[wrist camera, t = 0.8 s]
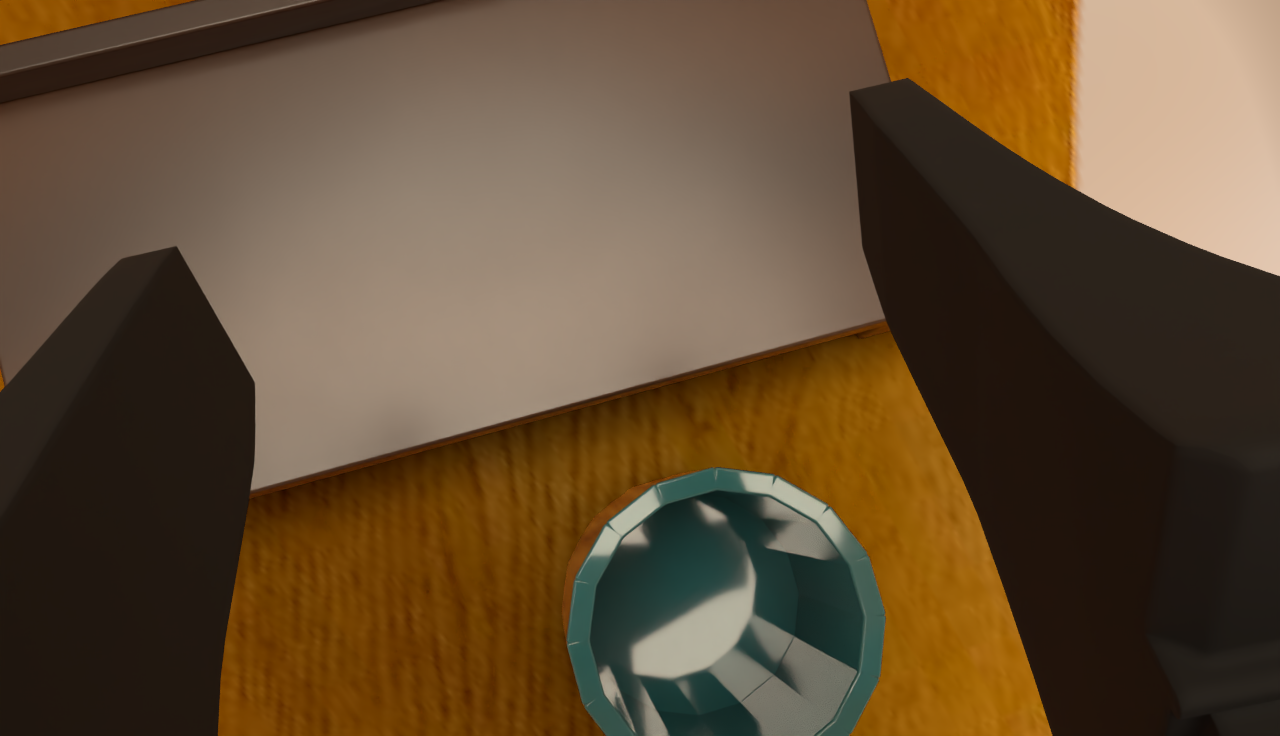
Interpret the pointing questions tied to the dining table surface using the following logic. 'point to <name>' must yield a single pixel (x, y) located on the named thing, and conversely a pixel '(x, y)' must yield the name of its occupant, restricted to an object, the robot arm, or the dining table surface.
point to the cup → (722, 611)
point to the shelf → (447, 199)
